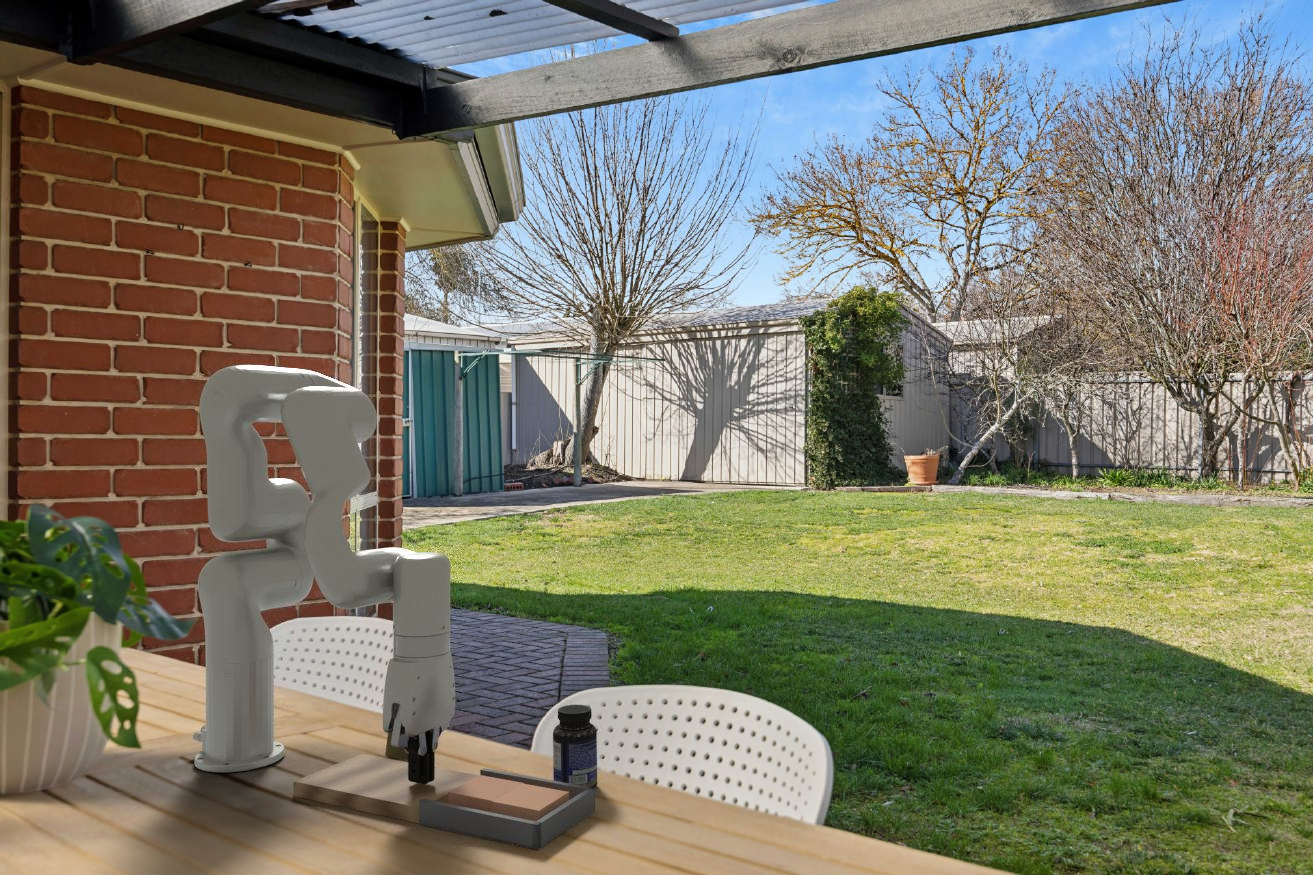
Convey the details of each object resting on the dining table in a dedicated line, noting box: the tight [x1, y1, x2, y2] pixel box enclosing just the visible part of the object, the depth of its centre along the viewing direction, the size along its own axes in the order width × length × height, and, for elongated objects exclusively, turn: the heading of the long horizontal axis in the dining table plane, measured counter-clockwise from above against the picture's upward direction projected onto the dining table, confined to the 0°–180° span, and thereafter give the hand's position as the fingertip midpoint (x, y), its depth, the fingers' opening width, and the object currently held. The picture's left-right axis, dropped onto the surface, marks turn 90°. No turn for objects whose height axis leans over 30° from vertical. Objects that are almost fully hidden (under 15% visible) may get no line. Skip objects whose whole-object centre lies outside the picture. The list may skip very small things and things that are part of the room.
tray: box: [418, 767, 596, 851], centre depth 125 cm, size 18×14×3 cm
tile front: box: [492, 784, 569, 821], centre depth 123 cm, size 7×7×3 cm
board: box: [292, 753, 480, 824], centre depth 134 cm, size 22×13×2 cm, turn 64°
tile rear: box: [448, 774, 524, 812], centre depth 127 cm, size 7×7×3 cm
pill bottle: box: [552, 704, 598, 789], centre depth 136 cm, size 6×6×11 cm
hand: (421, 780), depth 131 cm, fingers closed
